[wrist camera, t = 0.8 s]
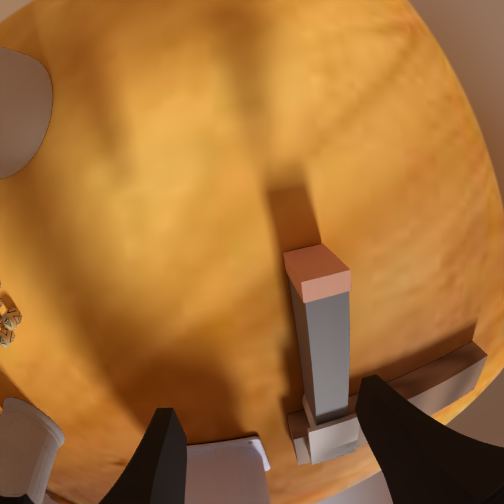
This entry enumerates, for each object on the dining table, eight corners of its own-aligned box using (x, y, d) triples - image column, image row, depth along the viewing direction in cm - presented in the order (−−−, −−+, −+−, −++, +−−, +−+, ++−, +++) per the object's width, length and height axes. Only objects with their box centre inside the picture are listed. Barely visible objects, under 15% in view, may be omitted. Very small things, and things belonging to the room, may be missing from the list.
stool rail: (292, 443, 26) (302, 481, 21) (281, 389, 22) (294, 436, 18) (461, 375, 27) (482, 399, 22) (479, 313, 23) (509, 337, 18)
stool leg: (334, 401, 23) (349, 434, 20) (303, 410, 23) (314, 445, 20) (326, 242, 18) (353, 268, 14) (279, 253, 18) (297, 283, 14)
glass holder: (54, 412, 21) (15, 528, 7) (82, 470, 26) (65, 556, 12) (-6, 387, 20) (-55, 481, 6) (30, 451, 24) (5, 528, 10)
